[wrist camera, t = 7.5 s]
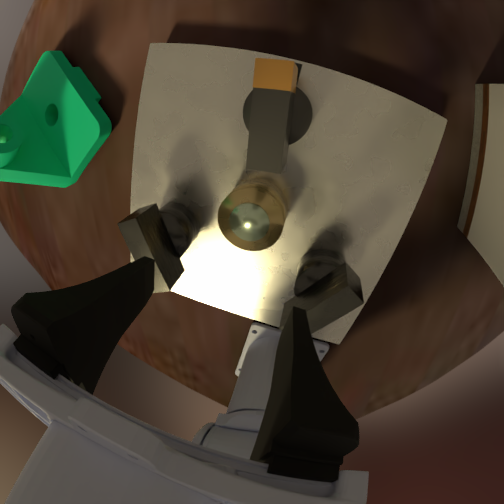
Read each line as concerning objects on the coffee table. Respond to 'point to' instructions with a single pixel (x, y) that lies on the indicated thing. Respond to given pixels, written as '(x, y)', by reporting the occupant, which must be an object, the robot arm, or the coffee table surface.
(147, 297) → the robot arm
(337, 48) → the coffee table surface
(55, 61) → the camera mount
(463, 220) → the white dispenser tower
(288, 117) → the tan-ended square prism
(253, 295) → the base
